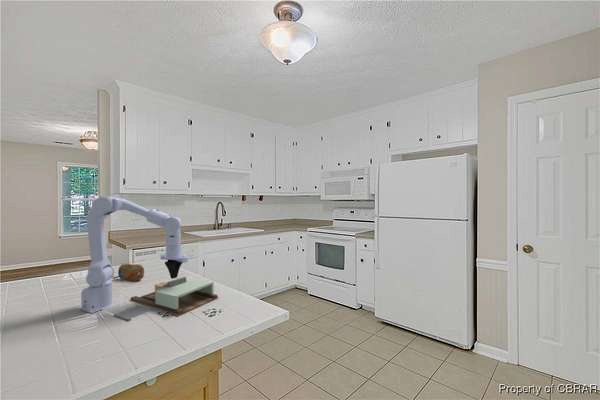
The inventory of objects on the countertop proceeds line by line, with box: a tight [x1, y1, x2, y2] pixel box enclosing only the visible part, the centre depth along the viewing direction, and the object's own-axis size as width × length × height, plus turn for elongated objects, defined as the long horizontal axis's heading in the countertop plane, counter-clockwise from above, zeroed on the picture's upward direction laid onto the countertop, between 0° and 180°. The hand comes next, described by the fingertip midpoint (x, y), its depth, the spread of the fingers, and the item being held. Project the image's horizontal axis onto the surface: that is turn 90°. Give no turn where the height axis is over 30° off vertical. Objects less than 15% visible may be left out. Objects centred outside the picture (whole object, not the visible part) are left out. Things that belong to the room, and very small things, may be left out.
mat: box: [113, 305, 152, 322], centre depth 103 cm, size 9×9×1 cm
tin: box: [117, 263, 145, 282], centre depth 144 cm, size 15×3×8 cm, turn 73°
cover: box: [154, 276, 215, 309], centre depth 113 cm, size 18×12×7 cm, turn 152°
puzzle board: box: [129, 291, 219, 317], centre depth 116 cm, size 20×30×2 cm, turn 62°
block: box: [154, 281, 167, 292], centre depth 120 cm, size 4×4×5 cm
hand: (174, 277), depth 116 cm, fingers closed
